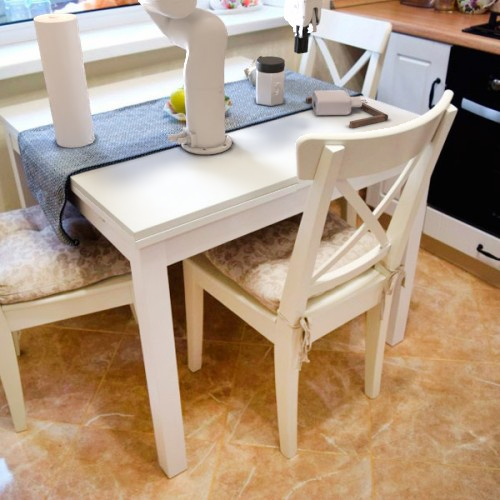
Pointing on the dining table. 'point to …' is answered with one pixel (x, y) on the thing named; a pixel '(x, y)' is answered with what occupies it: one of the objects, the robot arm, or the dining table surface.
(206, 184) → the dining table surface
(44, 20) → the cylinder container
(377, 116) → the brown bent bar
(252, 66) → the ceramic sculpture
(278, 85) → the jar
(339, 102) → the charger
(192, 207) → the dining table surface
